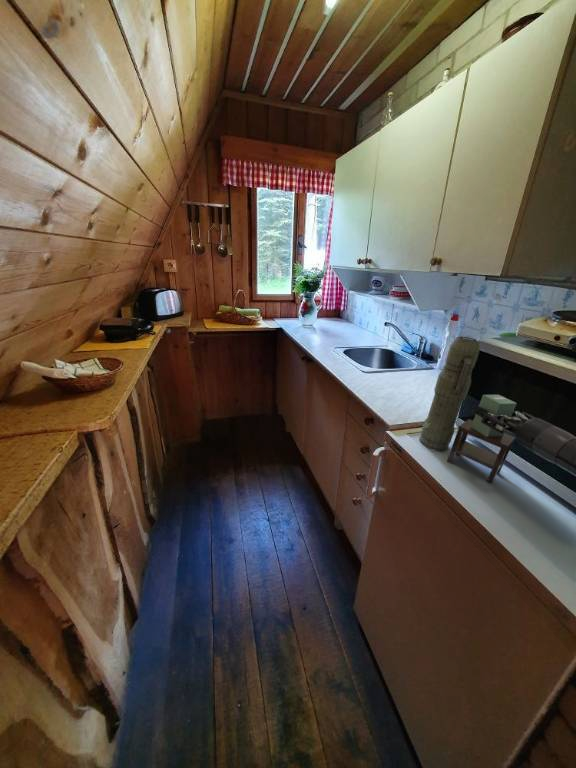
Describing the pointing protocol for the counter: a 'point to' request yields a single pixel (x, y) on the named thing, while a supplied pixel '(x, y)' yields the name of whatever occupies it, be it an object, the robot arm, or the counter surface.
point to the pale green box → (495, 406)
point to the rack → (479, 453)
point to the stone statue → (450, 393)
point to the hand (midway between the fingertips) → (488, 409)
